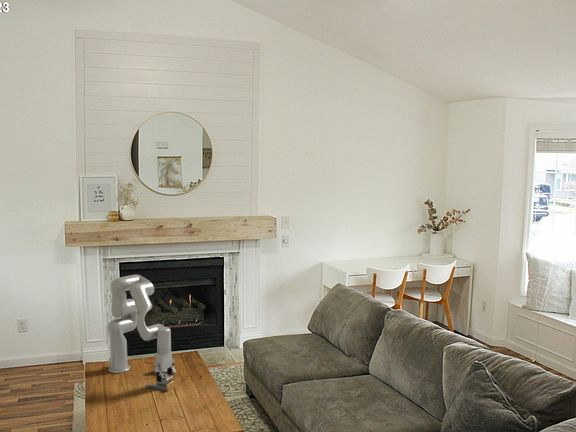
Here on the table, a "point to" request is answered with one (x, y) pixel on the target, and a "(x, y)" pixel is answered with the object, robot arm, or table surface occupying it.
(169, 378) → the block
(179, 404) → the table surface
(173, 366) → the white jointed piece
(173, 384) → the receiver
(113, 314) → the robot arm
